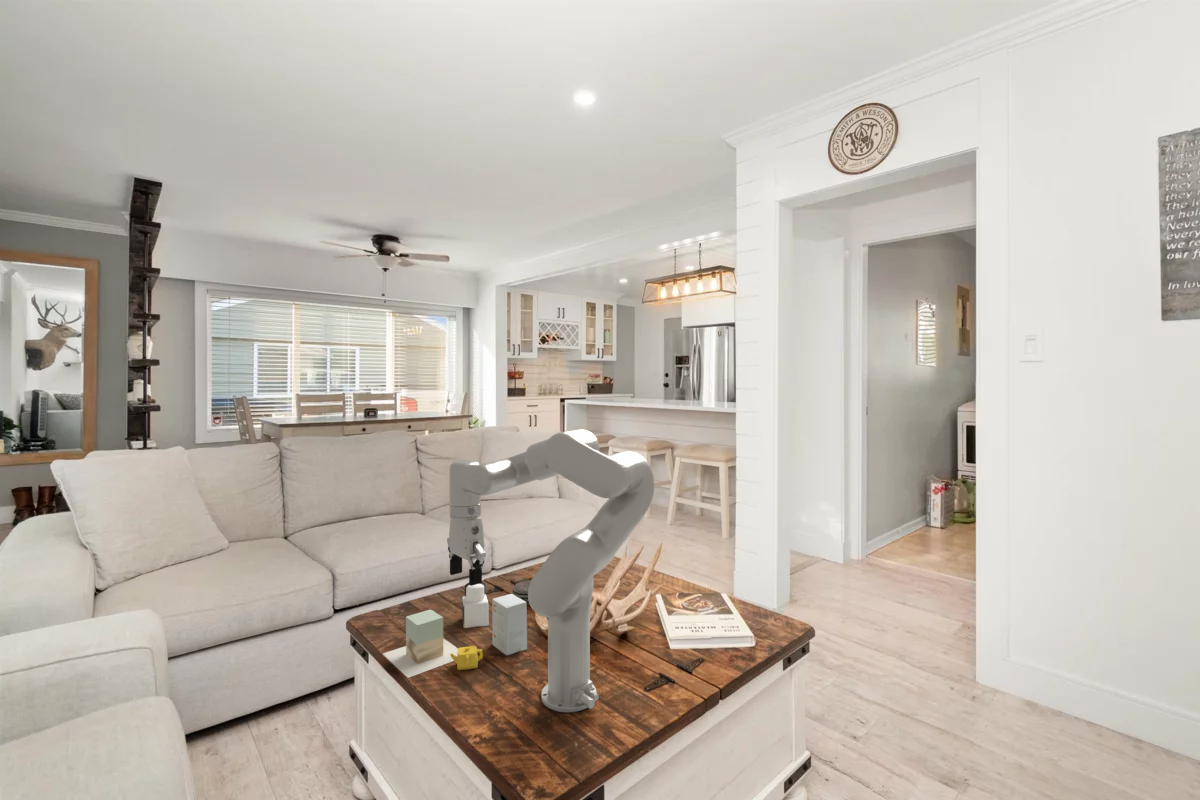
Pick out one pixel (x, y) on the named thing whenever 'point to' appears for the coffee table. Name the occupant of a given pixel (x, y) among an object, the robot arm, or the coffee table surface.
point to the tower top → (424, 626)
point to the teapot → (467, 657)
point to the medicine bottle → (475, 606)
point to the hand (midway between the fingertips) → (465, 578)
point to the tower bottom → (424, 650)
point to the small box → (509, 624)
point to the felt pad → (413, 668)
